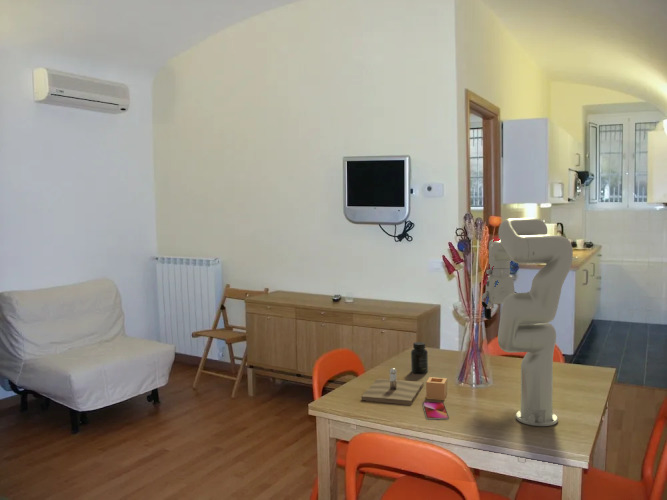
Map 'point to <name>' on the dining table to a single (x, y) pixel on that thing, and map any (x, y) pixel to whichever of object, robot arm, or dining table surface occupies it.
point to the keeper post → (393, 379)
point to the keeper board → (393, 392)
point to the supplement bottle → (419, 358)
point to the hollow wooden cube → (436, 388)
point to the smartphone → (435, 411)
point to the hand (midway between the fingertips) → (499, 317)
